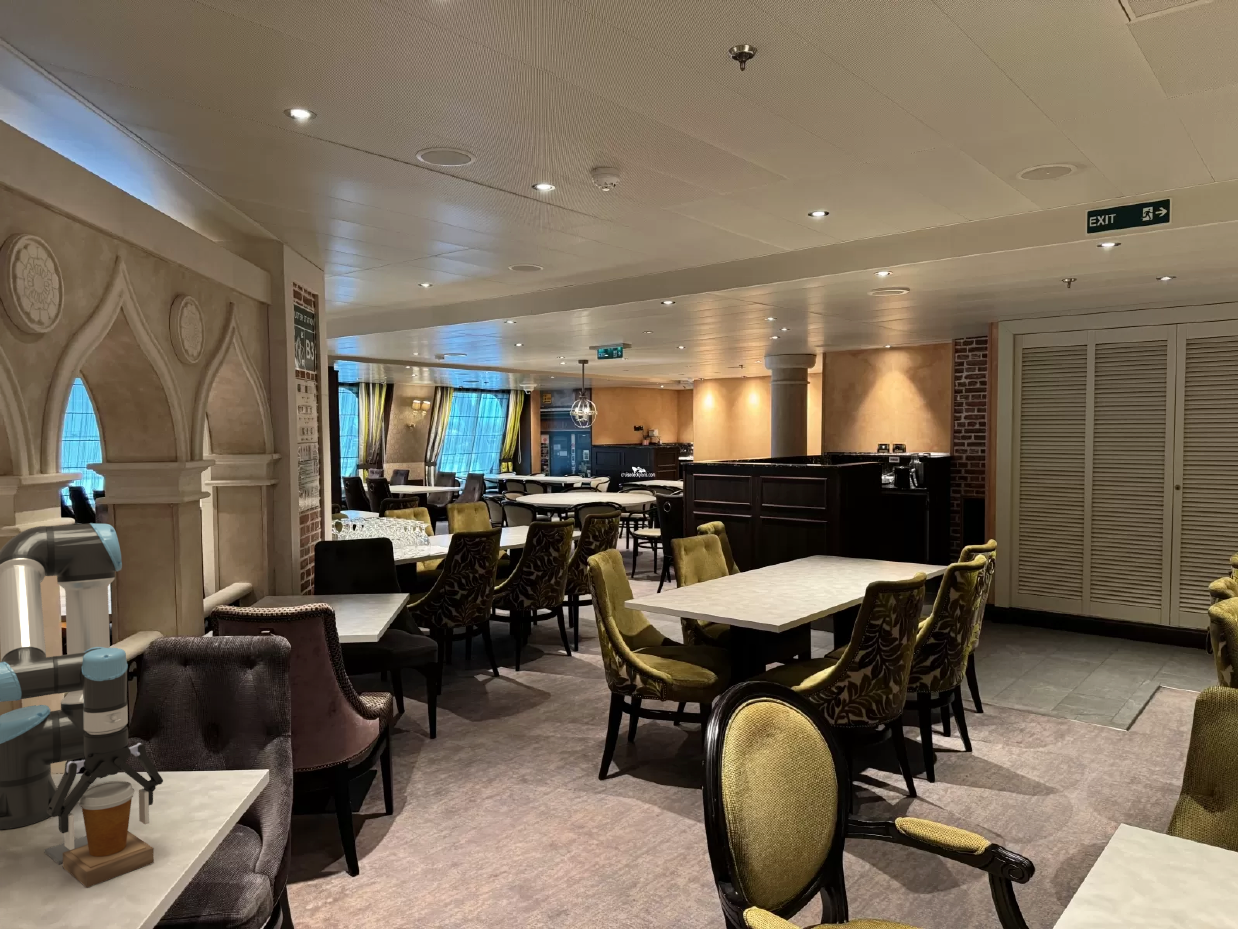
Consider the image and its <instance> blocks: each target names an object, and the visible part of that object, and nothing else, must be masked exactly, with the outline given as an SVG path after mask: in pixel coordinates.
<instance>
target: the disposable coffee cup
mask: <svg viewBox="0 0 1238 929" xmlns="http://www.w3.org/2000/svg"><path fill="white" fill-rule="evenodd" d="M134 794H135V788H133V786H132V783H131V782H129V781H125V780H115V781H114V780H113V781H107V782H102V783H97V784H95V785H90V786H89V787H88V789H87V790H86V792H85V793H84V794H83V796H82V797H81V798H80V800H79V801H78V802H77V803H78V804H79V806H80V808H81V812H82V819H83V823H84V830H85V836H87V842H88V848H89V854H90V855H92V856H96V857H101V856H108V855H112V854H115V853H117V852H119V851H121V850H123V849H124V848H125V847H126V842H127V833H128V831H129V824H130V817H131V816H130V814H131V806H132V798H133V797H134Z"/></svg>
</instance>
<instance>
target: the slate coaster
mask: <svg viewBox="0 0 1238 929" xmlns="http://www.w3.org/2000/svg"><path fill="white" fill-rule="evenodd" d="M87 844H88V842H87V836H86V835H84V836H81V837H79V838H74V849H75V848H78V847H81V846H84V845H87ZM66 851H69V849H68V848H67V847H65V842H63V843H60V844H57V845H54V846H51V847H48V848H45V849H44V853H45V854H46V855H47V856H48V857H49V858H51V859H52V860H53V861H54V862H55V863H57V864H58V865H63V853H64V852H66Z"/></svg>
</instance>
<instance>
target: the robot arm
mask: <svg viewBox="0 0 1238 929" xmlns="http://www.w3.org/2000/svg"><path fill="white" fill-rule="evenodd" d="M122 568H123V563H122V552H121V548H120V542H119V538H118V535H117V532H116V530H115V528H114V527H113V525H111V524H108V523H93V522H90V523H81V524H80V523H78V524H64V525H47V526H46V525H42V526H41V525H40V526H35V527H30V528H28V529H24V530H23V531H21V532H18V533H17V534H16V535H14V536H13V537H12V538H10V539H9V540H8V541H7V542H6V543H5V544H4V545H3V546H2V547H1V549H0V703H1V702H3V703H4V702H13V701H20V700H25V699H31V698H37V697H38V698H39V697H44V696H50V695H58V694H59V695H60V694H66V693H67V694H66V695H65V696H64V697H63V698H62V699H61V700H60V709H57V710H51V708H50V707H49V706H48V705H46V704H39V705H28V706H24V707H19V708H16V709H13V710H10V711H8V712H5V713H3V714H1V715H0V830H9V829H15V828H20V827H25V826H29V825H33V824H35V823H38V822H41V821H44V820H46V819H49V818H50V817H52V818H56V817H57V818H58V820H57V821H58V831H59V832H60V833H61V834H63V835H64V837H63V838H64V839H63V840H64V843H65V847H67V848H68V849H69V850H72V849H74V840H75V817H74V814H73V813H72V811H73V809H74V808H75V807H76V805H77V804H78V803H79V802H78V801H79V800H80V798H81V797H82V796H83V794H84V793H85V792H86V790H87V789H88V788H89V787H91V786H92V784H94V782H96V780H97V779H104V778H106V777H107V776H113V775H117V774H118V773H119V772H120V771H122V772H123V773H124V774H126V775H127V776H128V777H130V778H131V779H132V780H134V781H135V782H136V783H137V784H139V785H140V786H141V787H143V788H140V789H138V809H139V810H138V812H139V814H138V816H139V817H138V819H139V820H138V821H139V822H141V823H142V824H144V825H148V824H150V811H149V810H150V809H149V808H150V806H152V805H153V803H154V791H155V790H156V788H157V786H158V785H162V784H163V783H164V779H163V777H162V776H161V775H160V773H159V772H158V770H157V768H156V767H155V766H154V764H153V762H152V760H151V759H150V757H149V756H148V754H147V749H146V748H147V747H146V745H145V744H143V743H141V742H139V741H138V742H135V743H134V744H133V746H130V747H129V727H128V726H127V724H128V722H129V720H128V715H129V714H128V711H129V710H128V697H127V696H128V693H127V692H128V668H129V666H128V665H129V664H128V662H127V661H128V660H127V652H126V651H125V650H124V649H123V648H118V647H111V646H110V645H111V642H110V616H109V615H110V613H109V612H110V610H109V607H110V606H109V585H111V583H113V581H114V580H115V579H116V574H115V572H119V571H122ZM53 576H54V577H55V576H56V581H57V585H59V586H60V587H61V588H62V589H64V591H65V596H64V597H65V620H66V621H65V622H66V627H65V629H66V630H65V631H66V653H67V654H62V655H53V656H47V651H46V639H45V637H46V636H45V624H44V613H43V600H42V588H41V587H42V585H41V583H42V582H43V580H45V577H53ZM131 754H132V755H133V756H134V757H136V758H137V760H138V761H139V763H140V764H141V766H142V768H143V770H145V772H146V774H147V776H148V777H149V778H150V779H149V780H148V779H146V778H145V777H144V776H143V775H142V774H140V773H139V772H137V771H136V770H135V768H133V767H131V765H129V764H128V763H126V762H127V760H128V759H129V758H130V756H131ZM77 759H81V760H77ZM73 760H74V761H73ZM62 762H65V764H64V772H63V775H62V777H61V779H60V781H59V784H58V786H57V785H56V783H55V781H54V778H53V776H52V767H51V766H52V764H57V763H62ZM81 768H84V769H85V770H84V772H82V774H81V776H80V779H79V780H78V782H77V783H76V784H75V786H74V787H73V788H72V786H73V783H74V781H75V779H76V776H77V774H78V773H79V772H80V770H81ZM71 788H72V790H70V789H71Z"/></svg>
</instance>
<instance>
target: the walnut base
mask: <svg viewBox="0 0 1238 929" xmlns="http://www.w3.org/2000/svg"><path fill="white" fill-rule="evenodd" d="M154 856H155V855H154V847H153V846H151V845H150V844H148V843H147V842H145V841H144V840H142V839H140V838H139V837H137V835H136V834H134V833H132V832H131V831H129V830H128V833H127V842H126V847H125V848H124V849H123V850H121V851H119V852H117V853H115V854H112V855H108V856H101V857H96V856H92V855H90V854H89V848H88V844H87V845H84V846H81V847H78V848H75V849H72V850H69V851H66V852H64V853H63V863H62V869H64V870H65V871H66V872H67V873H69V874H70V875H71V876H72V877H74V878H75V879H76V880H77V881H79V883H81V885H83V886H84V887H85V888H91V887H92V886H95V885H98V884H101V883H104V882H106V881H109V880H111V879H114V878H117V877H119V876H122V875H125V874H128V873H131V872H132V871H136V870H138V869H141V868H143V867H146V866H149V865H151V864H154V863H155V862H154V860H155V859H154Z"/></svg>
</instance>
